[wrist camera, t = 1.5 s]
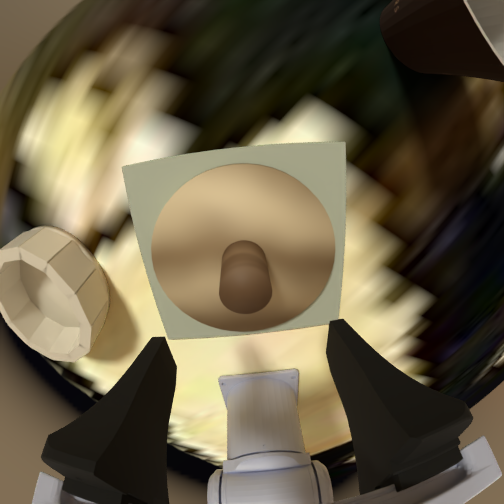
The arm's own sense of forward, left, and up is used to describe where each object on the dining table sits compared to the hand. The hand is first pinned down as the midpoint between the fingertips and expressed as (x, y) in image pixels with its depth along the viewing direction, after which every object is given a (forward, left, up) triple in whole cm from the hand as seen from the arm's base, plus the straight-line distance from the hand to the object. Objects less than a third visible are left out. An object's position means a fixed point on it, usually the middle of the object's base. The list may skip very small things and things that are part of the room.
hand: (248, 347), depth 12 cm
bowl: (-1, +17, -10) cm, 20 cm away
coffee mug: (+17, -16, -10) cm, 25 cm away
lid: (0, 0, -9) cm, 9 cm away
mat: (0, 0, -10) cm, 10 cm away
